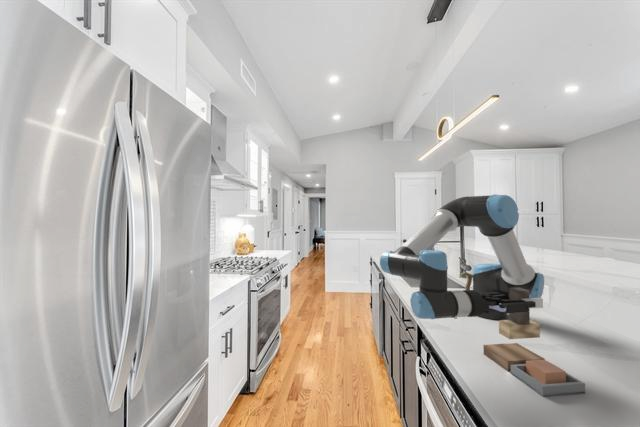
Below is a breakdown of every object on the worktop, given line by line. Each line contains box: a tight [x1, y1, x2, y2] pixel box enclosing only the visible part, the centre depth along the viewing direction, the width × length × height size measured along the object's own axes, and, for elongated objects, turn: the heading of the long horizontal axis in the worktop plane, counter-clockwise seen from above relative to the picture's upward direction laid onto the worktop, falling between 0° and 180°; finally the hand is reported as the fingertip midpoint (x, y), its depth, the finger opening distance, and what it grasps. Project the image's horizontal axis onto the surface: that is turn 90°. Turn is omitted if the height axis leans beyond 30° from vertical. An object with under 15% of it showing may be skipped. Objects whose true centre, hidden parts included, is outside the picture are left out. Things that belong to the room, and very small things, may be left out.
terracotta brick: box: [526, 359, 567, 384], centre depth 75 cm, size 6×6×4 cm
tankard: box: [460, 271, 473, 290], centre depth 149 cm, size 20×13×15 cm, turn 91°
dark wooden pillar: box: [498, 287, 541, 340], centre depth 82 cm, size 10×4×14 cm, turn 97°
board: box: [483, 342, 546, 372], centre depth 84 cm, size 12×10×3 cm
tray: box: [510, 364, 586, 397], centre depth 73 cm, size 12×10×2 cm
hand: (535, 300), depth 82 cm, fingers closed on dark wooden pillar, 3 cm apart
